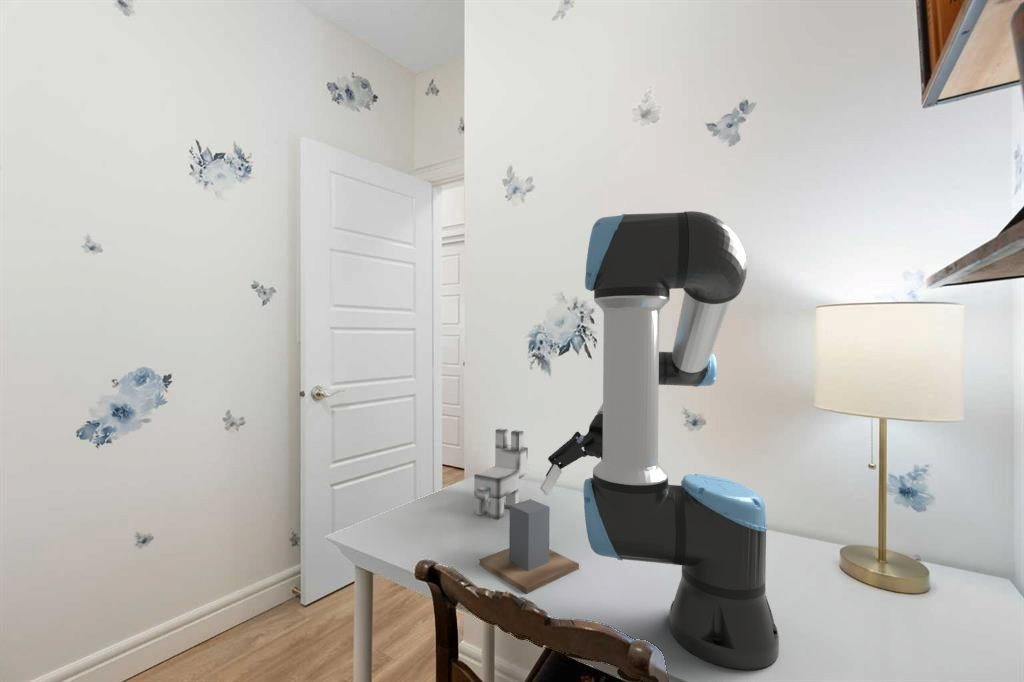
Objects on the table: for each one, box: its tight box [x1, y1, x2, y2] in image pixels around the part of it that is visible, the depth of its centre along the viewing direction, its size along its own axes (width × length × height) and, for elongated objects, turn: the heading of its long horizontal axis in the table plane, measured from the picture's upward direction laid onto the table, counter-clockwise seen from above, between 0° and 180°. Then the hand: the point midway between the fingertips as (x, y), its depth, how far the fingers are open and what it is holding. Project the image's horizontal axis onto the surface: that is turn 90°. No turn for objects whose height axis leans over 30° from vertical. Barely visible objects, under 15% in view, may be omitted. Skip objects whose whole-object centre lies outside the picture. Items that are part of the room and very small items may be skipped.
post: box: [478, 547, 580, 594], centre depth 91 cm, size 14×14×8 cm
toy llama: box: [473, 427, 529, 520], centre depth 123 cm, size 8×18×20 cm, turn 150°
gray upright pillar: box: [508, 499, 551, 571], centre depth 91 cm, size 6×6×11 cm
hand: (566, 499), depth 99 cm, fingers open, 13 cm apart
